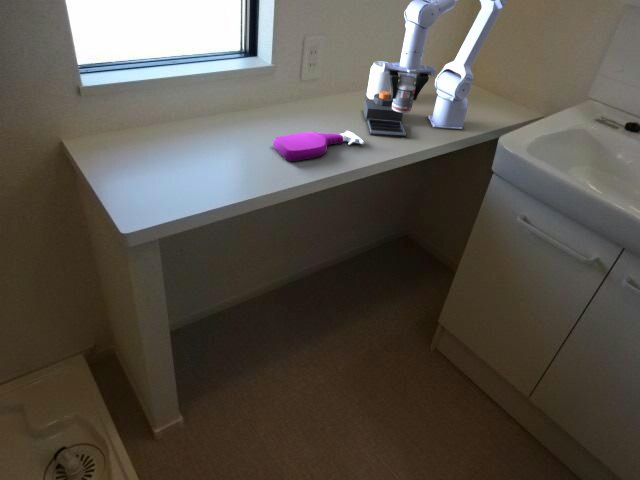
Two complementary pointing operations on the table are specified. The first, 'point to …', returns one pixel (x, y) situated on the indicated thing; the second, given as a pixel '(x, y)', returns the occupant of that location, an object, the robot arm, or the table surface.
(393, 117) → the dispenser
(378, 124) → the drip tray
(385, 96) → the button
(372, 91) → the can
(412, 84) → the pill bottle
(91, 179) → the table surface
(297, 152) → the spray bottle
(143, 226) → the table surface
